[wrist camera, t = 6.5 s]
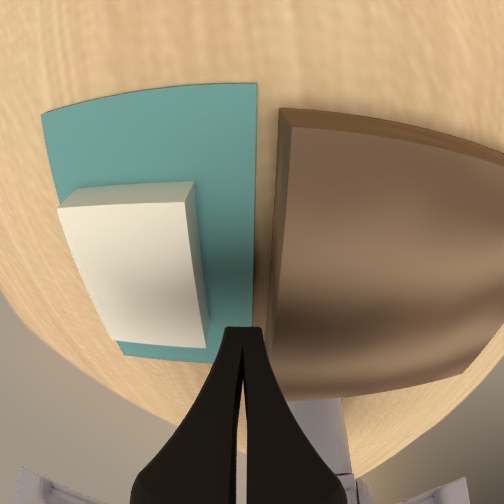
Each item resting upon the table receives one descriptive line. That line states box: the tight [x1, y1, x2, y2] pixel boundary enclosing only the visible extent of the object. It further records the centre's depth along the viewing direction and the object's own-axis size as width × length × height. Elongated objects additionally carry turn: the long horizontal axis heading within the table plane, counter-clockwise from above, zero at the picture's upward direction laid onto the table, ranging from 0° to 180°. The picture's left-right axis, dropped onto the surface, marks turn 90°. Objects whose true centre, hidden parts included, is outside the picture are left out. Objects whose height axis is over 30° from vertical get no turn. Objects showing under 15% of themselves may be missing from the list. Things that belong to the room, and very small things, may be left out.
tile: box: [56, 181, 210, 348], centre depth 14 cm, size 9×6×2 cm, turn 179°
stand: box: [265, 108, 504, 402], centre depth 13 cm, size 16×16×4 cm
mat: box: [41, 83, 257, 363], centre depth 15 cm, size 18×10×1 cm, turn 179°
